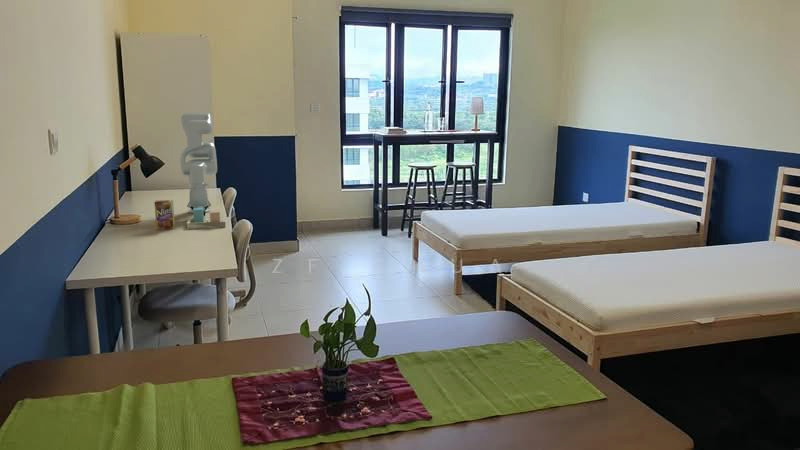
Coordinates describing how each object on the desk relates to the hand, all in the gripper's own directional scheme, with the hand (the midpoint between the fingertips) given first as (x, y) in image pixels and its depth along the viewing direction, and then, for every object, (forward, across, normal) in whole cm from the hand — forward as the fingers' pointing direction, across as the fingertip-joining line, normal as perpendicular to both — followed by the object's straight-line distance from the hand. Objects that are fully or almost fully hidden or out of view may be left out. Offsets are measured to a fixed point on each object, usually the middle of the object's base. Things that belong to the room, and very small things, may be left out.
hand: (200, 217), depth 356 cm
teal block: (+1, 0, +6) cm, 6 cm away
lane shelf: (+1, -5, +21) cm, 22 cm away
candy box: (+1, +16, +22) cm, 27 cm away
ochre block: (+1, -9, +22) cm, 23 cm away
